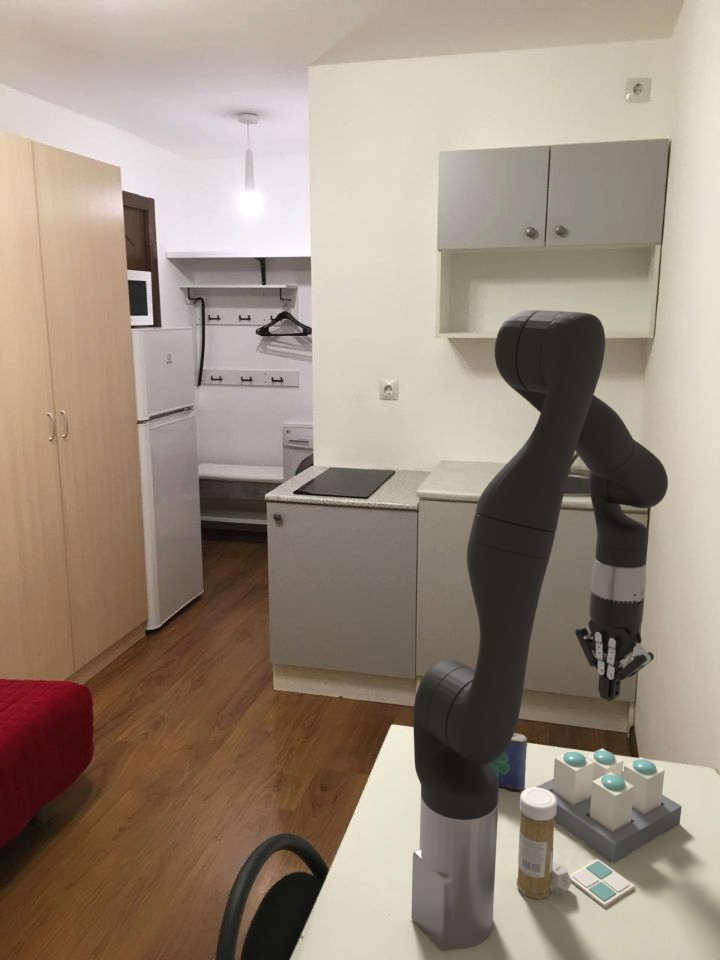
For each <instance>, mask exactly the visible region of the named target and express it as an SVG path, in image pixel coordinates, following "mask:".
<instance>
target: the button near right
mask: <svg viewBox="0 0 720 960" xmlns="http://www.w3.org/2000/svg"><path fill="white" fill-rule="evenodd" d="M633 792H634V786H633V785H631V784H630V783H628V782H626V781H625V780H623V779H622V778H621V777H619V776H616V775H615V774H613V773H611V772H610V773H608V774H606V775H604V776H602V777H600V778H598V779H596V780H594V781H592V792H591V805H590V818H591V819H592V820H594V821H595V822H597V823H598V824H600V825H601V826H603V827H604V828H606V829H607V830H609V831H610V832H612V833H615V832H617V831H618V830H620V829H622V828H624V827H625V826H627V825H629V824H631V814H632V803H633Z"/></svg>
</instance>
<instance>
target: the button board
mask: <svg viewBox="0 0 720 960" xmlns="http://www.w3.org/2000/svg"><path fill="white" fill-rule="evenodd" d="M623 772H624V770H622V779H623ZM553 779H554V778H552V779H550V780H547V781H545V782H544V783H541V784H539V785H538V786H537V785H536V787H537V788H543V789H546V790H548V791H550V792H551V793H552V794H553V795H554V796H555V797H556V800H557V811H556V815H555V818H554V823H557V825H559V826H560V827H562V828H563V829H565V830H566V831H567V832H569V833H571V835H573V836H574V837H576V838H577V839H579V840H580V841H581V842H583V843H584V844H586V846H588V847H589V848H591V849H592V850H594V851H595V852H597V854H599V855H601V856H602V857H604V858H605V859H606V860H608V861H609V862H610V863H612V864H615V863H617V862H618V861H620V860H622V859H624V858H625V857H627V856H628V855H630V854H632V853H634V852H635V851H637V850H639V849H641V848H642V847H643V846H646V845H647V844H649V843H651V842H652V841H653V840H656V839H657V838H658V837H660V836H662V835H664V834H665V833H667V832H669V831H670V830H672V829H674V828H675V827H677V826H679V825H680V824H681V823H680V822H681V815H682V805H680V804H679V803H677V802H676V801H674V800H672V799H670V798H669V797H667V796H665V795H663V794H662V801H661V807H659V808H657V809H656V810H654V811H652V812H650V813H649V814H647V815H643V814H641V813H640V812H638V811H637V810H635V809H634V808H632V814H631V824H629V825H627V826H625V827H624V828H622V829H620V830H618V831H617V832H615V833H612V832H610V831H609V830H607V829H606V828H604V827H603V826H601V825H600V824H598V823H597V822H595V821H594V820H592V819H591V818H590V805H591V798H590V799H588V800H586V801H584V802H582V803H580V804H578V805H576V806H574V807H573V806H572V805H570V804H569V803H567V802H566V801H564V800H563V799H561V798H560V797H558V796H557V795H556V794H554V793H553Z"/></svg>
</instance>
